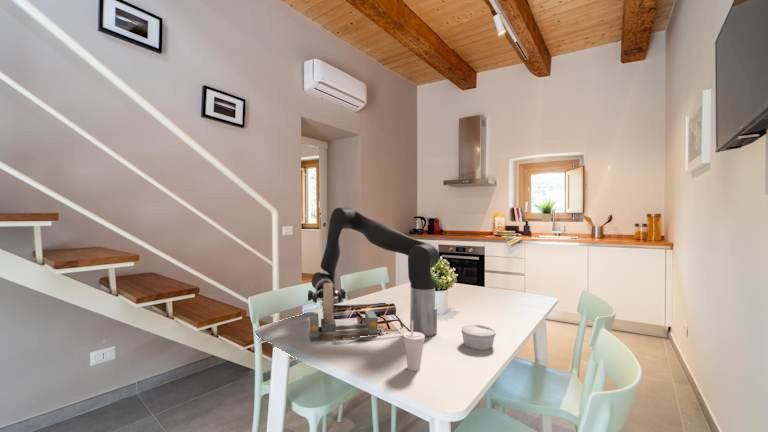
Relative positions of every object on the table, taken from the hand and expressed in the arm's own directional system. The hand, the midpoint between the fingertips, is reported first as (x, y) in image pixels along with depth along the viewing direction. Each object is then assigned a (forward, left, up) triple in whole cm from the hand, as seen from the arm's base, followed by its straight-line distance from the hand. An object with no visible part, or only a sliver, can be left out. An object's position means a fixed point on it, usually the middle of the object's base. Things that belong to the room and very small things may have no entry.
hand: (327, 299), depth 127 cm
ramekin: (-50, +20, -13) cm, 56 cm away
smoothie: (-23, +32, -13) cm, 42 cm away
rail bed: (-6, +1, -13) cm, 14 cm away
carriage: (0, +1, -10) cm, 10 cm away
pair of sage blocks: (-6, +1, -13) cm, 14 cm away
